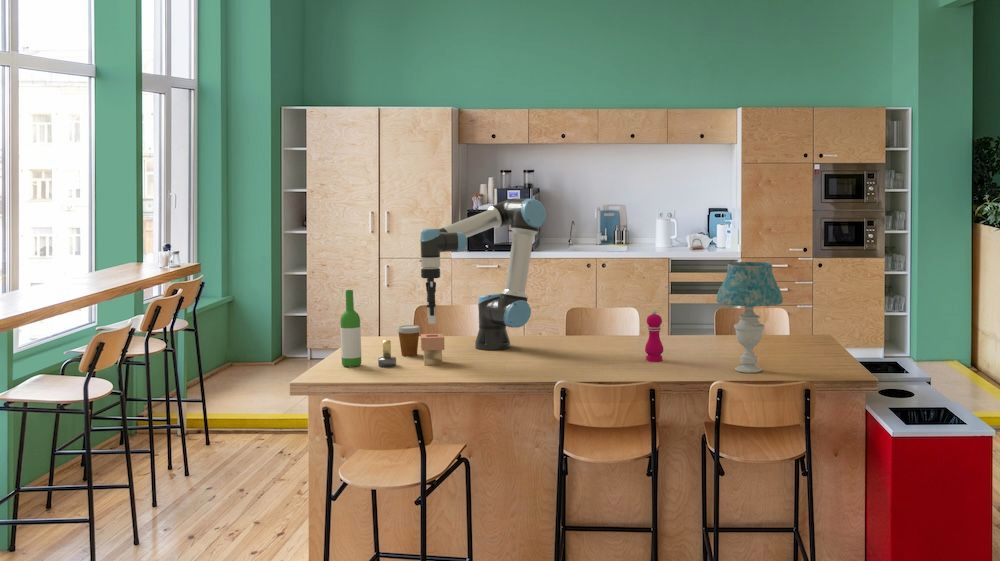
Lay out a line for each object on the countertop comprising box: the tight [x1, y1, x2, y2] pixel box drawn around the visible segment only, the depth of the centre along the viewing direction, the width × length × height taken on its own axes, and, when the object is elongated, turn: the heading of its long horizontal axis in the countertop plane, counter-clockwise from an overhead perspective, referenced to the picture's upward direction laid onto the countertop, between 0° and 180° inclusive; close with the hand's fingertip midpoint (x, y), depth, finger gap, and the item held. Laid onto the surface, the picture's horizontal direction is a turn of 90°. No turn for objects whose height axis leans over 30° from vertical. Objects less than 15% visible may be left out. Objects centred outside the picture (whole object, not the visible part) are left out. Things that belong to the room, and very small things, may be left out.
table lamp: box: [716, 261, 784, 374], centre depth 366 cm, size 24×24×40 cm
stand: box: [423, 350, 443, 366], centre depth 392 cm, size 7×7×6 cm
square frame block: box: [420, 333, 445, 352], centre depth 392 cm, size 9×9×5 cm
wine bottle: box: [339, 289, 362, 368], centre depth 389 cm, size 8×8×30 cm
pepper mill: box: [644, 310, 664, 363], centre depth 390 cm, size 7×7×20 cm
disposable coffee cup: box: [396, 324, 421, 357], centre depth 410 cm, size 10×10×12 cm
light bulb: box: [377, 339, 397, 369], centre depth 388 cm, size 7×7×10 cm
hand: (431, 321), depth 391 cm, fingers open, 13 cm apart
